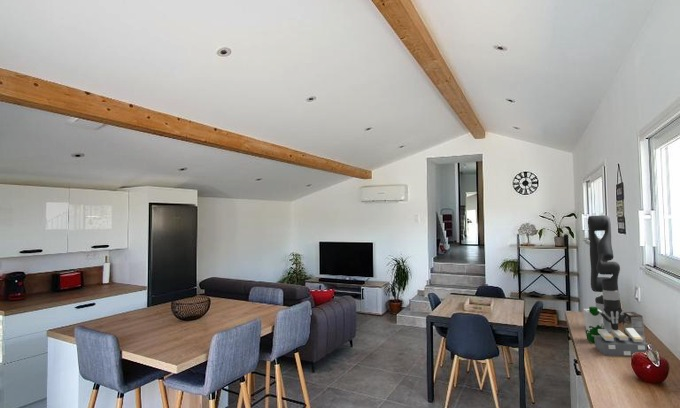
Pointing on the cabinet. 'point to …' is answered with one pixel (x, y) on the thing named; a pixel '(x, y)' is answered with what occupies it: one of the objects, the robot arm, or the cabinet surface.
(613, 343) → the switch unit
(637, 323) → the coffee box
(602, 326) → the milk carton
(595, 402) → the cabinet surface
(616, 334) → the block
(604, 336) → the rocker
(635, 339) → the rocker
